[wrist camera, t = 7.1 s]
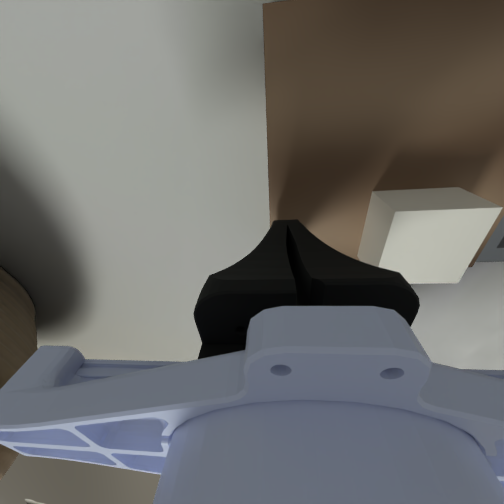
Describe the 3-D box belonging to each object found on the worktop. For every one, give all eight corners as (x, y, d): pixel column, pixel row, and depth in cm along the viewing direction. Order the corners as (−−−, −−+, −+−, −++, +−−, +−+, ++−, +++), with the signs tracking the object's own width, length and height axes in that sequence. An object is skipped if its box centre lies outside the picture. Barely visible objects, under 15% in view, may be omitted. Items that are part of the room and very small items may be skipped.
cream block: (428, 254, 13) (457, 283, 11) (357, 255, 13) (372, 283, 11) (458, 186, 11) (502, 207, 9) (372, 191, 11) (395, 211, 9)
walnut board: (431, 234, 17) (472, 267, 13) (271, 238, 18) (271, 270, 14) (533, -1, 10) (665, -52, 7) (265, 32, 11) (262, 3, 8)
